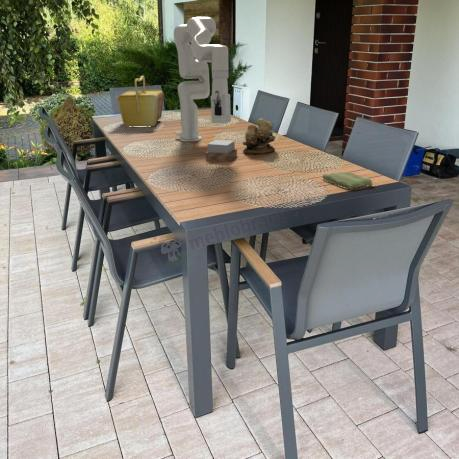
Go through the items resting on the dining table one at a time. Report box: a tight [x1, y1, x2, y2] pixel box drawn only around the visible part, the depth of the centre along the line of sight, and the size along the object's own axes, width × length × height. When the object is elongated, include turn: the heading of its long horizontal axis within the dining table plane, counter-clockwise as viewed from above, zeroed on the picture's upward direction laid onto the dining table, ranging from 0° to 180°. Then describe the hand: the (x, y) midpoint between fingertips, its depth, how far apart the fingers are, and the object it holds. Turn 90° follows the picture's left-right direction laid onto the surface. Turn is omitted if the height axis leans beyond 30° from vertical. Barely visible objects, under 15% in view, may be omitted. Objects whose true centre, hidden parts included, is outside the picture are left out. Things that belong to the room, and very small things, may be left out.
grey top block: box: [207, 139, 236, 154], centre depth 228 cm, size 10×10×4 cm
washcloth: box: [322, 171, 373, 190], centre depth 190 cm, size 13×18×3 cm
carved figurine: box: [242, 117, 276, 156], centre depth 237 cm, size 18×12×17 cm, turn 117°
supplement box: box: [210, 93, 232, 125], centre depth 221 cm, size 7×7×13 cm
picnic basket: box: [116, 75, 165, 127], centre depth 310 cm, size 29×26×30 cm
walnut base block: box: [205, 148, 238, 163], centre depth 229 cm, size 12×12×4 cm
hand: (221, 113), depth 222 cm, fingers closed on supplement box, 7 cm apart
